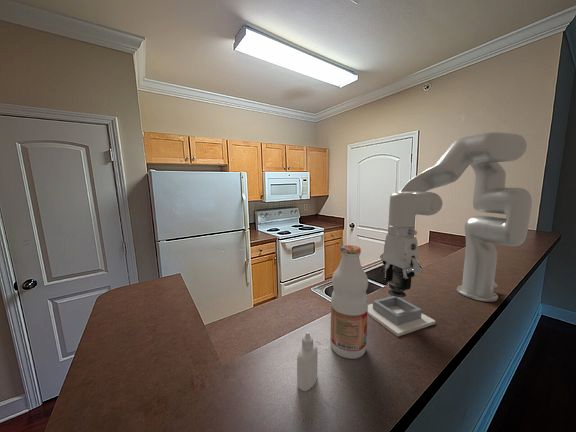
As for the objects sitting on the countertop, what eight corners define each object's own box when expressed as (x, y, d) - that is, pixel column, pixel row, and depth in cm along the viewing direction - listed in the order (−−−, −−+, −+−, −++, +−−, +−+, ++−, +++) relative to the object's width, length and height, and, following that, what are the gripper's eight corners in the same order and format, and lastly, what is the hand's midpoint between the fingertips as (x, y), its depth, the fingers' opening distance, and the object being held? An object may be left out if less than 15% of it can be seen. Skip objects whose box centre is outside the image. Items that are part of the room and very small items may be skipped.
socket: (394, 300, 87) (395, 290, 86) (435, 323, 72) (436, 312, 71) (360, 309, 81) (361, 298, 80) (397, 336, 66) (398, 323, 65)
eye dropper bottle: (292, 378, 52) (291, 330, 50) (313, 370, 54) (313, 323, 52) (300, 394, 48) (300, 342, 46) (323, 384, 50) (324, 334, 49)
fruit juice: (324, 339, 65) (325, 244, 61) (353, 333, 68) (356, 241, 64) (340, 363, 56) (343, 254, 52) (373, 355, 59) (378, 250, 55)
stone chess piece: (409, 298, 72) (412, 262, 70) (389, 296, 73) (391, 260, 71) (403, 290, 77) (406, 256, 76) (385, 288, 79) (387, 255, 77)
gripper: (435, 235, 66) (430, 294, 68) (388, 226, 82) (385, 274, 84) (416, 238, 63) (412, 299, 65) (372, 227, 79) (369, 277, 81)
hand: (397, 284), depth 75 cm, fingers closed on stone chess piece, 5 cm apart
